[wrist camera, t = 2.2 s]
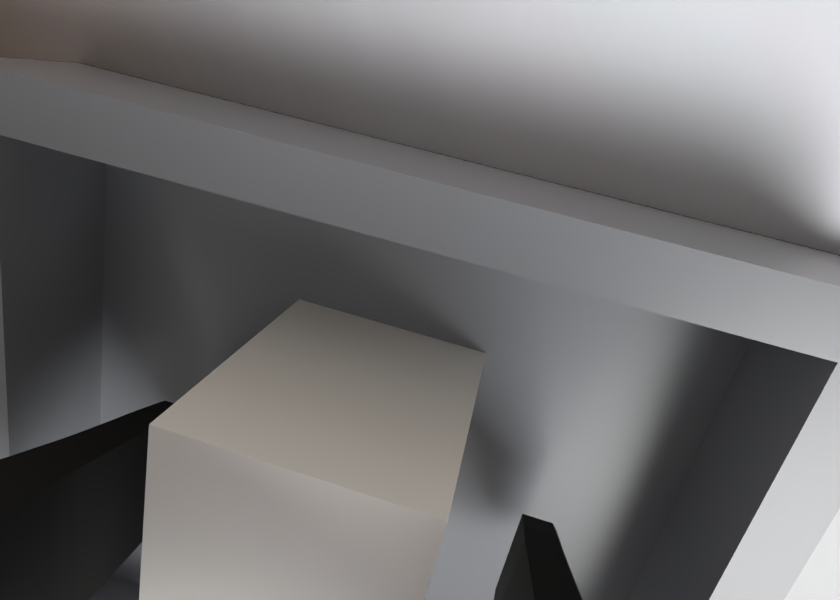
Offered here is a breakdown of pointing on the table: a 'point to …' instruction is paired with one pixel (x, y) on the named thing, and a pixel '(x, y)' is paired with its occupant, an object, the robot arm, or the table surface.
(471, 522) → the case
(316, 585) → the block
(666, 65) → the table surface
